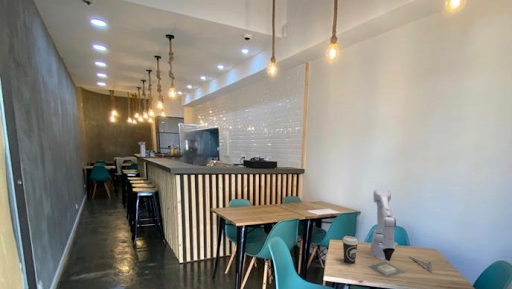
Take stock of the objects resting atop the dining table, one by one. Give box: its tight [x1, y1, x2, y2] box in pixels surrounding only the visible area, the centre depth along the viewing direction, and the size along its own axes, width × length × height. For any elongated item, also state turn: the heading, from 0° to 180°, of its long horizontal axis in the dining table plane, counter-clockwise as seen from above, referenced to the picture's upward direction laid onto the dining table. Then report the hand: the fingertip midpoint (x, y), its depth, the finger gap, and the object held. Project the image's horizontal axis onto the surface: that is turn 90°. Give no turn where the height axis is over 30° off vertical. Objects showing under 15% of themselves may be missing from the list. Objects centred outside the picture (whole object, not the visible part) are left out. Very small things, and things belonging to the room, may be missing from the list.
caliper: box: [408, 255, 433, 274], centre depth 153 cm, size 20×1×6 cm, turn 0°
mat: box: [367, 261, 406, 279], centre depth 145 cm, size 13×16×1 cm
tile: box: [377, 264, 396, 275], centre depth 143 cm, size 6×2×8 cm
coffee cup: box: [341, 235, 359, 265], centre depth 153 cm, size 10×10×15 cm
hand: (387, 260), depth 143 cm, fingers closed
